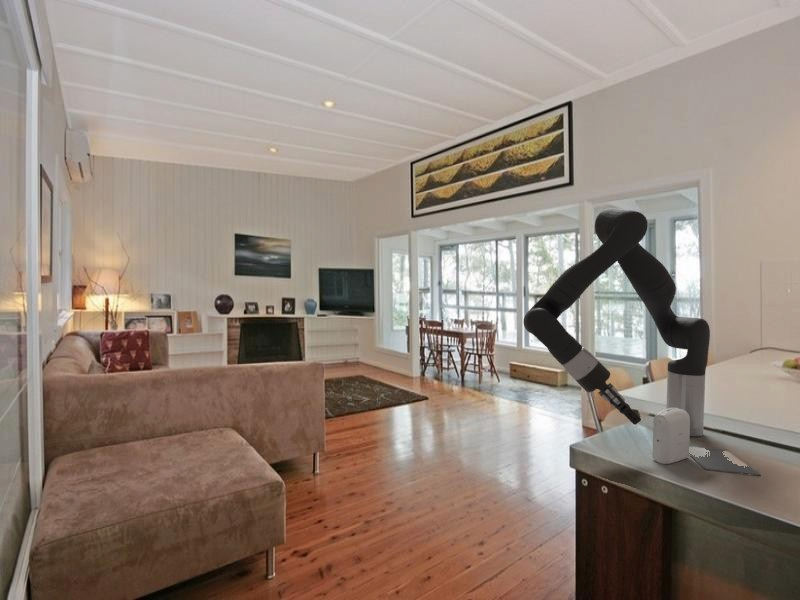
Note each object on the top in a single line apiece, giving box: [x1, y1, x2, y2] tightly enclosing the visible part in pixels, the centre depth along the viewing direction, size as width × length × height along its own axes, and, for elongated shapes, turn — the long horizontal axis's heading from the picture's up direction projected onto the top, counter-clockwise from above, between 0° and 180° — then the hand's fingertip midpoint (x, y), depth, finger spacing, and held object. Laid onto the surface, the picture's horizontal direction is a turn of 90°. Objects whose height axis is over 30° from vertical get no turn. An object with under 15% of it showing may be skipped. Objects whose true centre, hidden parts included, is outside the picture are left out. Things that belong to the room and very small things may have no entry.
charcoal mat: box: [689, 445, 761, 477], centre depth 106 cm, size 16×11×1 cm
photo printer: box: [651, 408, 691, 465], centre depth 106 cm, size 10×4×12 cm, turn 119°
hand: (637, 421), depth 108 cm, fingers closed
